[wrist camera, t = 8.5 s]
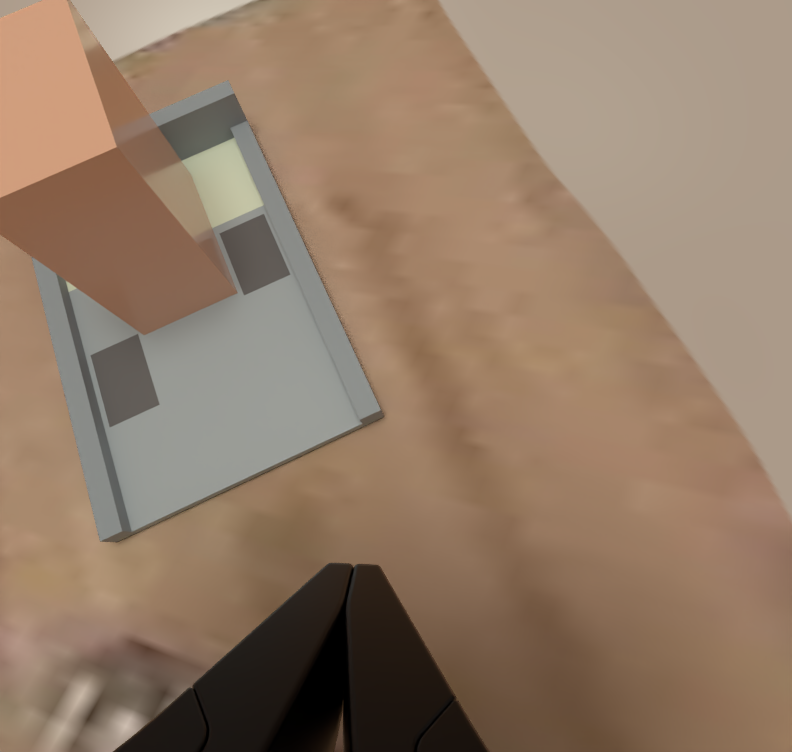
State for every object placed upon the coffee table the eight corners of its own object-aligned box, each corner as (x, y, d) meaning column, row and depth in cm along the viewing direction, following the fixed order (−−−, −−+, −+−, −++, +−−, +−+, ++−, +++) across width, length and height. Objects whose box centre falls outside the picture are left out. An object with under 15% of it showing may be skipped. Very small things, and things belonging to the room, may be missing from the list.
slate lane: (384, 416, 24) (375, 398, 21) (117, 541, 23) (71, 540, 21) (249, 124, 30) (228, 80, 27) (35, 217, 30) (-9, 182, 27)
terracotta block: (237, 292, 26) (116, 147, 17) (144, 335, 26) (-33, 212, 17) (191, 175, 29) (63, -9, 19) (105, 212, 29) (-66, 45, 19)
